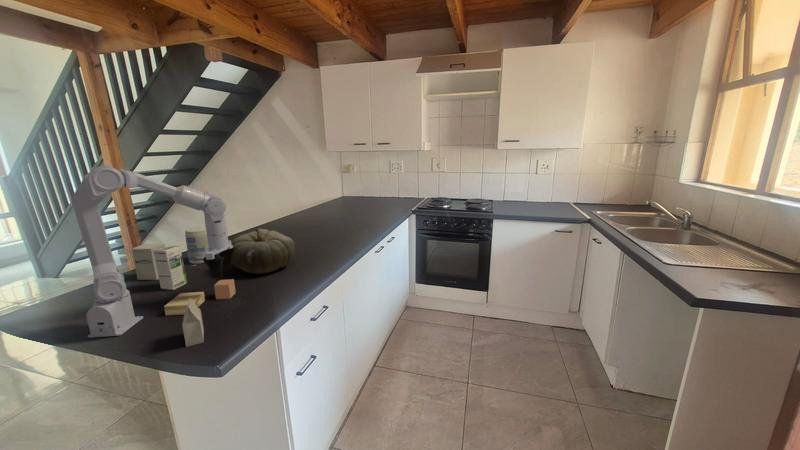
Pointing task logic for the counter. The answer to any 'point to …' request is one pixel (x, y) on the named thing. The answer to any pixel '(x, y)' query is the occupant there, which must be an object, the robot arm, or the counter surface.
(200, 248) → the supplement tub
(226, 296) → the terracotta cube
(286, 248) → the gourd
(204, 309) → the counter surface
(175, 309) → the beech block
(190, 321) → the tea bag
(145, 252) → the supplement box
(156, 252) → the syrup box
